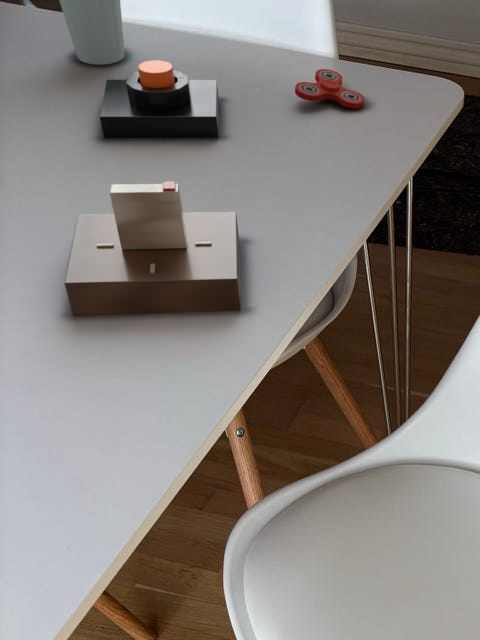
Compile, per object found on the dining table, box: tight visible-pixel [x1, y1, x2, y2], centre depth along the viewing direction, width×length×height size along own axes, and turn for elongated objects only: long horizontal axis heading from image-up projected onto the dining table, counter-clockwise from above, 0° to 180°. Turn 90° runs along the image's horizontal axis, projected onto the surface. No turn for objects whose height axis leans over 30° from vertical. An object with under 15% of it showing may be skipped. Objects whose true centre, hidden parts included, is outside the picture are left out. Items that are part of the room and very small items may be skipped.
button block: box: [99, 69, 220, 139], centre depth 111 cm, size 12×10×4 cm
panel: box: [64, 211, 242, 316], centre depth 90 cm, size 14×12×3 cm
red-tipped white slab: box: [109, 181, 187, 249], centre depth 87 cm, size 6×2×5 cm, turn 99°
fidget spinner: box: [294, 68, 366, 110], centre depth 118 cm, size 8×7×1 cm
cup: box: [58, 0, 125, 66], centre depth 119 cm, size 8×8×10 cm
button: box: [137, 59, 175, 88], centre depth 109 cm, size 4×4×2 cm
